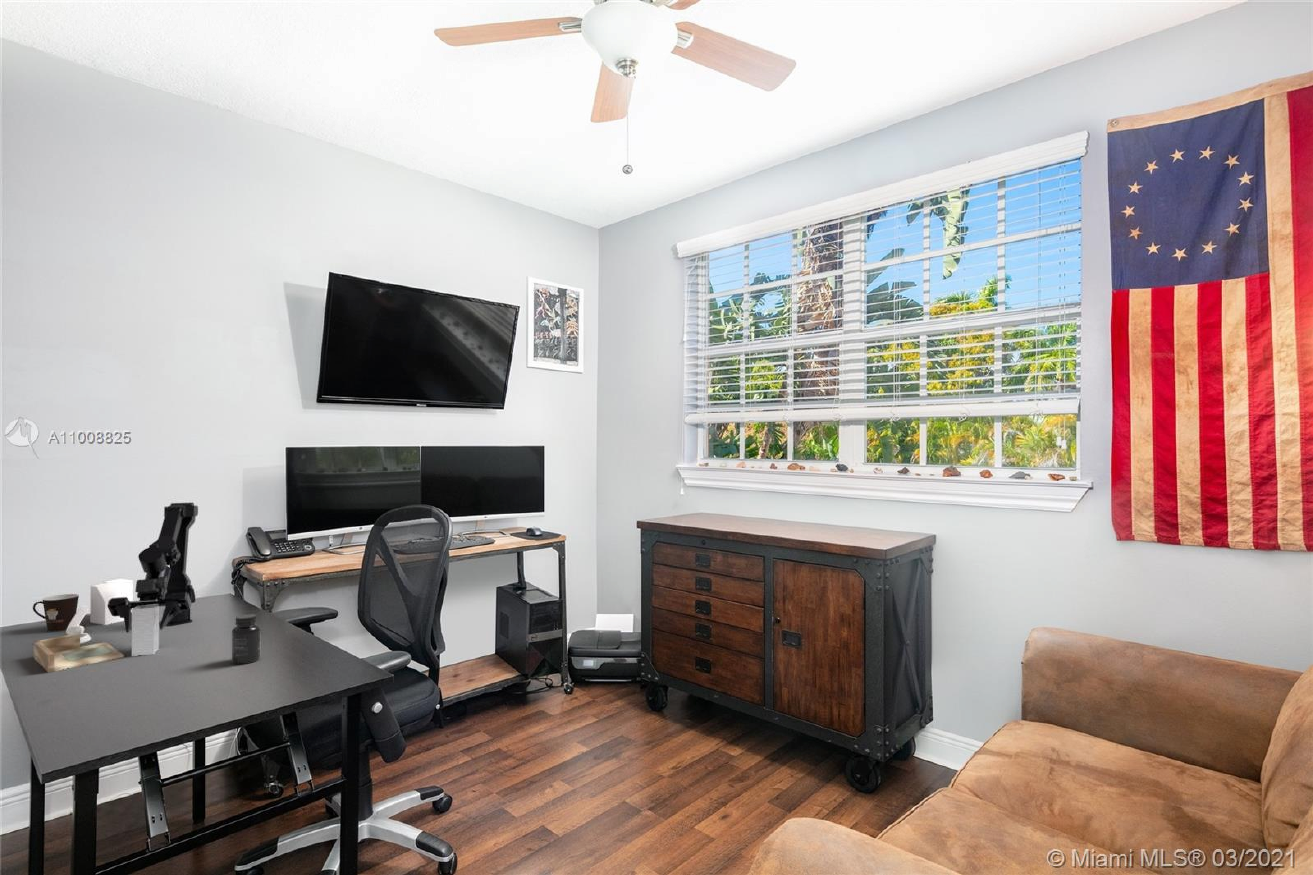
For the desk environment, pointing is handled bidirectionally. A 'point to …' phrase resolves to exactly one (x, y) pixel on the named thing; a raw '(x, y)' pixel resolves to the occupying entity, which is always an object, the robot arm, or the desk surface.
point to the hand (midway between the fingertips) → (144, 630)
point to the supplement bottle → (246, 640)
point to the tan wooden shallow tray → (71, 653)
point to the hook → (74, 625)
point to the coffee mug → (58, 611)
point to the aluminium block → (145, 629)
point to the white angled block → (102, 597)
